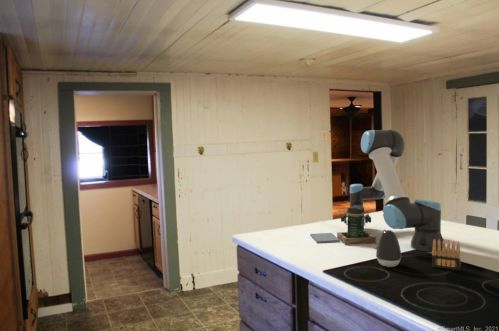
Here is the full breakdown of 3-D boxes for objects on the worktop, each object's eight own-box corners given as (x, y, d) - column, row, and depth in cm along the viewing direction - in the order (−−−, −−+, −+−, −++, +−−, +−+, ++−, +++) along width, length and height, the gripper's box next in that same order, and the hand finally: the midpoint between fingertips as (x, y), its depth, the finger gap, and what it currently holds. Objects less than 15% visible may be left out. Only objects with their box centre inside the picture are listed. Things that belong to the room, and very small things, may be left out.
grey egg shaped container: (395, 260, 182) (395, 226, 180) (405, 268, 171) (405, 232, 170) (372, 261, 181) (372, 227, 180) (381, 269, 171) (380, 233, 170)
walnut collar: (375, 243, 211) (375, 237, 210) (345, 244, 209) (345, 239, 209) (366, 236, 225) (366, 231, 224) (337, 238, 223) (337, 232, 223)
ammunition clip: (460, 269, 168) (460, 240, 167) (460, 271, 166) (460, 241, 165) (432, 266, 173) (432, 238, 173) (431, 267, 172) (431, 239, 171)
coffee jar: (360, 243, 211) (359, 207, 209) (345, 241, 215) (345, 206, 214) (366, 239, 219) (366, 204, 217) (352, 237, 223) (351, 203, 222)
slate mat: (339, 241, 215) (339, 240, 215) (317, 243, 214) (317, 241, 214) (331, 234, 231) (331, 232, 231) (310, 235, 230) (310, 233, 230)
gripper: (375, 221, 231) (377, 230, 209) (337, 220, 236) (334, 229, 215) (375, 207, 230) (377, 216, 209) (337, 207, 236) (334, 215, 214)
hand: (355, 222), depth 212 cm, fingers closed on coffee jar, 8 cm apart
